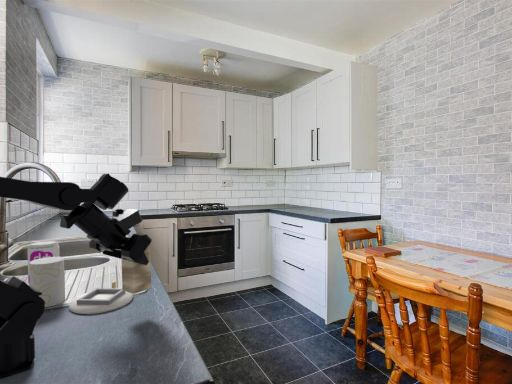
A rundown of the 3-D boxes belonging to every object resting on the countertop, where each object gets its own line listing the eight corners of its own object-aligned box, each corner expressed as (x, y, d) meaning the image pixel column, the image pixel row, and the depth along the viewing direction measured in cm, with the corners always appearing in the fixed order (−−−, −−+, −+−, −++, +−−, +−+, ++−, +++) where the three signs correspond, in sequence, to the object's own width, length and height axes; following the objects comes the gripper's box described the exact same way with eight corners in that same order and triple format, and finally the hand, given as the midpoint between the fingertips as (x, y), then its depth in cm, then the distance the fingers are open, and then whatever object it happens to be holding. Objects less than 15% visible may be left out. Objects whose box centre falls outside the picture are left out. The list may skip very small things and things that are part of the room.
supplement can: (55, 292, 91) (53, 244, 90) (23, 295, 88) (22, 246, 88) (64, 283, 99) (62, 239, 98) (35, 286, 96) (34, 241, 96)
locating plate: (114, 314, 75) (114, 301, 75) (54, 313, 76) (54, 300, 76) (142, 291, 91) (141, 280, 91) (92, 290, 92) (92, 279, 92)
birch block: (133, 294, 71) (132, 241, 71) (122, 290, 74) (121, 239, 74) (151, 288, 75) (150, 238, 75) (140, 284, 78) (138, 236, 78)
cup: (24, 309, 78) (23, 265, 78) (38, 298, 86) (37, 257, 86) (59, 305, 81) (57, 263, 80) (69, 295, 88) (68, 255, 88)
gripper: (143, 199, 65) (182, 240, 75) (100, 197, 76) (139, 233, 85) (110, 240, 59) (156, 279, 69) (68, 231, 70) (113, 266, 79)
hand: (141, 261), depth 76 cm, fingers closed on birch block, 5 cm apart
